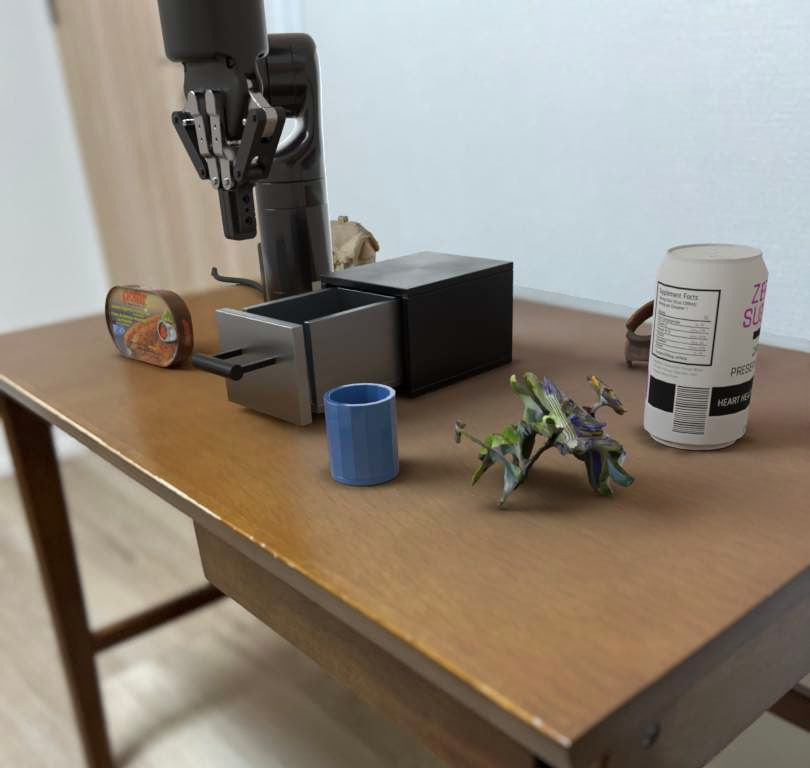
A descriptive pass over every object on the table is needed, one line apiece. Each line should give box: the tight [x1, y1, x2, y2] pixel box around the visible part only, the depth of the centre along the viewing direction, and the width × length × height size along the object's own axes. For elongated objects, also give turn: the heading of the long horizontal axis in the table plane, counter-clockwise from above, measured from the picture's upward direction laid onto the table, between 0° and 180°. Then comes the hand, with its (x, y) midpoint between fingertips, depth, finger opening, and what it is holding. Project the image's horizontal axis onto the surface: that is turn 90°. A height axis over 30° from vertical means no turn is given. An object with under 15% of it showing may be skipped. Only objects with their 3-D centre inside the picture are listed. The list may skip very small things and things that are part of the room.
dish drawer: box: [191, 285, 406, 427], centre depth 82 cm, size 19×11×9 cm, turn 135°
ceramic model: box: [330, 215, 380, 272], centre depth 134 cm, size 14×11×10 cm
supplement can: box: [643, 242, 769, 451], centre depth 71 cm, size 8×8×15 cm
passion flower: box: [453, 371, 636, 510], centre depth 63 cm, size 11×11×12 cm
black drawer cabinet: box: [320, 250, 514, 400], centre depth 92 cm, size 16×13×11 cm
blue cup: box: [324, 383, 400, 487], centre depth 69 cm, size 6×6×6 cm
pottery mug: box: [623, 299, 654, 368], centre depth 91 cm, size 12×10×8 cm
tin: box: [104, 284, 195, 368], centre depth 101 cm, size 15×3×8 cm, turn 47°
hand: (241, 238), depth 70 cm, fingers closed
